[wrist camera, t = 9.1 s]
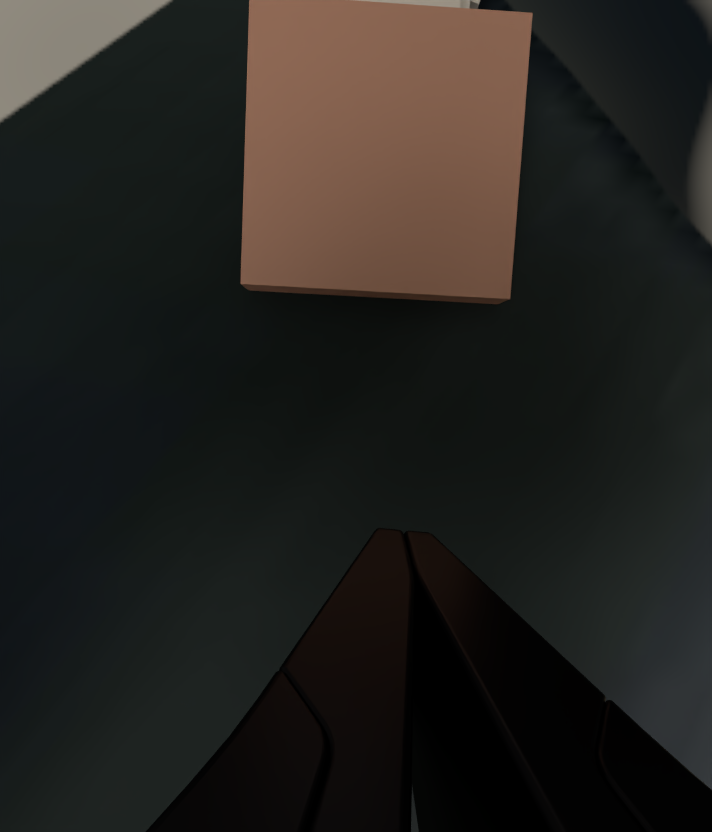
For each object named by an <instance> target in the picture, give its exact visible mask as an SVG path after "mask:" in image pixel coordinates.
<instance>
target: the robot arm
mask: <svg viewBox="0 0 712 832" xmlns="http://www.w3.org/2000/svg"><path fill="white" fill-rule="evenodd" d="M605 700H606V698H605V695H604V694H603V693H602V692H601V691H600V690H599V689H598V688H596V687H595V686H594V685H593V684H592V683H591V682H590V681H589V680H588V679H587V678H586V677H585V676H584V675H583V674H581V673H580V672H579V671H578V670H577V669H576V668H575V667H574V666H573V665H572V664H571V663H570V662H569V661H568V660H566V659H565V658H564V657H563V656H562V655H561V654H560V653H559V652H558V651H557V650H556V649H555V648H554V647H552V646H551V645H550V644H549V643H548V642H547V641H546V640H545V639H544V638H543V637H542V636H541V635H540V634H539V633H537V632H536V631H535V630H534V629H533V628H532V627H531V626H530V625H529V624H528V623H527V622H526V621H525V620H524V619H522V618H521V617H520V616H519V615H518V614H517V613H516V612H515V611H514V610H513V609H512V608H511V607H510V606H509V605H507V604H506V603H505V602H504V601H503V600H502V599H501V598H500V597H499V596H498V595H497V594H496V593H495V592H494V591H492V590H491V589H490V588H489V587H488V586H487V585H486V584H485V583H484V582H483V581H482V580H481V579H480V578H479V577H477V576H476V575H475V574H474V573H473V572H472V571H471V570H470V569H469V568H468V567H467V566H466V565H465V564H464V563H462V562H461V561H460V560H459V559H458V558H457V557H456V556H455V555H454V554H453V553H452V552H451V551H450V550H449V549H447V548H446V547H445V546H444V545H443V544H442V543H441V542H440V541H439V540H438V539H437V538H436V537H435V536H433V535H432V534H430V533H427V532H417V531H406V532H405V533H404V534H403V532H402V531H401V530H395V529H385V528H378V529H376V530H375V531H374V533H373V534H372V535H371V537H370V538H369V540H368V541H367V543H366V544H365V546H364V547H363V548H362V550H361V551H360V553H359V554H358V556H357V557H356V559H355V560H354V561H353V563H352V564H351V566H350V567H349V569H348V570H347V572H346V573H345V574H344V576H343V577H342V579H341V580H340V582H339V583H338V585H337V586H336V588H335V589H334V590H333V592H332V593H331V595H330V596H329V598H328V599H327V601H326V602H325V603H324V605H323V606H322V608H321V609H320V611H319V612H318V614H317V615H316V616H315V618H314V619H313V621H312V622H311V624H310V625H309V627H308V628H307V629H306V631H305V632H304V634H303V635H302V637H301V638H300V640H299V641H298V642H297V644H296V645H295V647H294V648H293V650H292V651H291V653H290V654H289V655H288V657H287V658H286V660H285V661H284V663H283V664H282V666H281V667H280V670H279V671H277V672H276V673H275V674H274V676H273V677H272V679H271V680H270V682H269V683H268V684H267V686H266V687H265V689H264V690H263V692H262V693H261V694H260V696H259V697H258V699H257V700H256V701H255V703H254V704H253V705H252V707H251V708H250V709H249V711H248V712H247V713H246V715H245V716H244V717H243V719H242V720H241V721H240V723H239V724H238V725H237V727H236V728H235V729H234V731H233V732H232V733H231V735H230V736H229V737H228V738H227V740H226V741H225V742H224V743H223V744H222V745H221V747H220V748H219V749H218V750H217V751H216V752H215V754H214V755H213V756H212V757H211V758H210V759H209V761H208V762H207V763H206V764H205V765H204V767H203V768H202V769H201V770H200V771H199V772H198V774H197V775H196V776H195V777H194V778H193V779H192V781H191V782H190V783H189V784H188V785H187V786H186V787H185V789H184V790H183V791H182V792H181V793H180V794H179V795H178V796H177V797H176V799H175V800H174V801H173V802H172V803H171V804H170V805H169V806H168V807H167V809H166V810H165V811H164V812H163V813H162V814H161V815H160V816H159V817H158V819H157V820H156V821H155V822H154V823H153V824H152V825H151V826H150V828H149V829H148V830H147V831H146V832H411V798H412V787H413V794H414V801H415V808H416V815H417V822H418V829H419V832H712V790H711V789H710V788H709V787H708V786H707V785H705V784H704V783H703V782H702V781H701V780H700V779H698V778H697V777H696V776H695V775H694V774H692V773H691V772H690V771H689V770H688V769H687V768H686V767H685V766H683V765H682V764H681V763H680V762H679V761H678V760H677V759H676V758H675V757H673V756H672V755H671V754H670V753H669V752H668V751H667V750H666V749H664V748H663V747H662V746H661V745H660V744H659V743H658V742H657V741H656V740H654V739H653V738H652V737H651V736H650V735H649V734H648V733H647V732H646V731H644V730H643V729H642V728H641V727H640V726H639V725H638V724H637V723H636V722H635V721H634V720H632V719H631V718H630V717H629V716H628V715H627V714H626V713H625V712H624V711H623V710H622V709H621V708H620V707H618V706H617V705H616V704H615V703H614V702H613V701H611V700H608V701H606V702H605Z"/></svg>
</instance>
